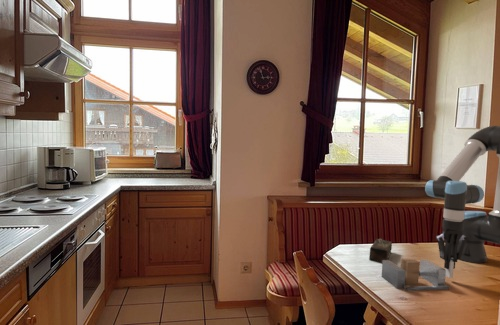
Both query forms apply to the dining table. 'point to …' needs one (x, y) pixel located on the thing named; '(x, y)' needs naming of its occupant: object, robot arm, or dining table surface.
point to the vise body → (403, 278)
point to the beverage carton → (380, 250)
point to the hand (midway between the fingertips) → (448, 276)
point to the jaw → (432, 273)
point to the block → (410, 270)
